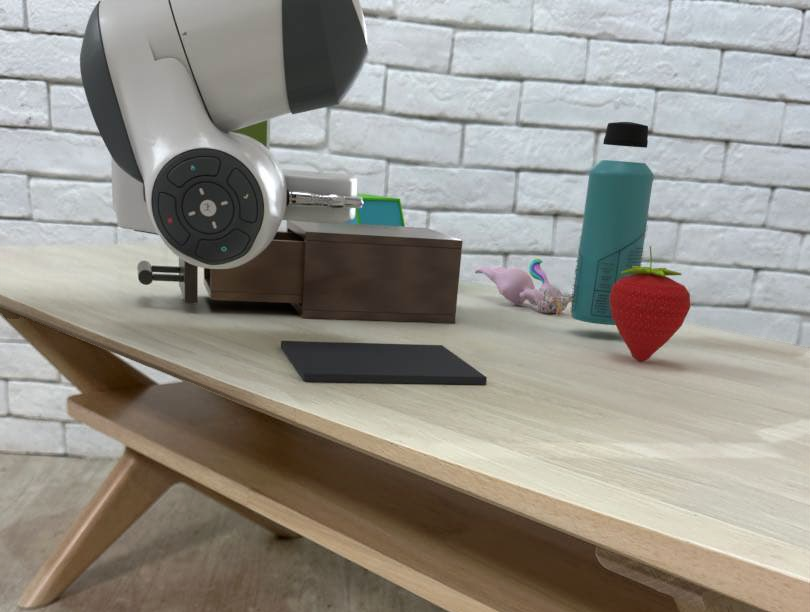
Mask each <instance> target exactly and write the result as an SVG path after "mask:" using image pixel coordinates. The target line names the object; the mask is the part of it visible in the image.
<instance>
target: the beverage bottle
mask: <svg viewBox="0 0 810 612" xmlns="http://www.w3.org/2000/svg"><path fill="white" fill-rule="evenodd" d="M648 138H649V125H646V124H642V123H638V122H633V121H616V122H609V123H607V125H606V129H605V135H604V138H603V143H602V144H603V145H607V146H617V147H630V148H632V147H633V148H642V149H643V148H645V149H646V148H647V149H648V144H649V143H648V142H649V141H648ZM654 180H655V175H654V172H653V171H652V170H651V168H650V167H649V166H648V165H647V164H646V162H637V161H623V160H611V159H600V160H599V161H598V162H597V163H596V164H595V165H593V166H592V167H591V168H590V169H589V170H588V181H587V189H586V196H585V204H584V210H583V219H582V227H581V235H580V237H579V238H578V241H577V243H579V245H578V248H577V251H578V254H577V259H576V261H575V262H576V265H575V266H576V267H574V268H575V270H574V277H573V280H574V282H573V283H574V284H572V286H573V287H572V293H571V297H572V299H573V300H572V299H571V300H572V303H571V302H570V308H569V310H570V313H571V318H572V319H573V320H576V321H579V322H584V323H590V324H595V325H596V324H597V325H604V326H616V324H615V322H614V320H613V318H612V315H611V307H610V299H609V296H610V293H611V291H612V288H613V285H614V284H615V283H616V282H617V281H618V280H619V279H620V278H623V277H627V276H631V275H635V274H625V273H621V272H622V271H626V269H633V268H632V267H633V266H641V267H643V253H644V247H645V239H646V236H647V234H648V233H646V232H649V231H648V225H647V224H648V221H649V216H650V214H649V209H650V202H651V197H652V196H651V195H652V190H653V189H652V188H653V183H654Z"/></svg>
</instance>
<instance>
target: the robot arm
mask: <svg viewBox="0 0 810 612" xmlns="http://www.w3.org/2000/svg"><path fill="white" fill-rule="evenodd" d="M368 47H369V46H368V32H367V25H366V19H365V16H364V12H363V8H362V5H361V2H360V0H98V2H97V3H96V4H95V6H94V8H93V9H92V11H91V13H90V15H89V18H88V21H87V23H86V27H85V31H84V34H83V38H82V42H81V47H80V53H79V70H80V77H81V81H82V86H83V89H84V90H83V91H84V94H85V97H86V100H87V104H88V106H89V110H90V113H91V116H92V118H93V120H94V121H93V122H94V123H95V126H96V128H97V130H98V132H99V135H100V137H101V139H102V141H103V143H104V145H105V147H106V149H107V151H108V152H109V154H110V156H111V157H110V158H111V159H110V160H111V194H112V195H111V196H112V198H111V199H112V209H113V211H114V212H115V215H116V223H117V226H118V227H120V228H121V229H124V230H132V231H134V232H139V233H144V234H145V233H146V234H150V235H151V234H152V235H156V236H159V238H160V240H161V241H162V242H163V244H164V245H165V246H166V248H168V250H170V251H171V252H172V253H173V254H174V255H175V256H177V257H178V259H179V258H181V259H182V260H184V261H186V262H188V263H189V264H192V265H194V266H197V267H198V268H202V269H204V268H207V269H229V268H234V267H238V266H240V265H243V264H245V263H247V262H249V261H250V260H252V259H253V258H255V257H256V256H257V255H259V254H260V253H261V252H262V251H263V250H264V249H265V248H266V247H267V246H268V245H269V244H270V243H271V241H272V240H273V238H274V237H275V235H276V233H277V231H279V228H280V226H281V224H282V222H283V221H287V220H290V221H303V222H316V223H347V222H350V221H352V220H353V219H354V218H355V214H356V208H362V205H363V201H362V197H361V196H357V194H358V178H357V177H356V176H354V175H351V174H345V173H336V172H334V173H333V172H322V171H310V170H299V169H298V170H297V169H287V168H283V167H282V166H281V164H280V163H279V160H278V159H277V158H276V156H275V155H274V154H273V153H272V151H271V150H270V151H269V150H268V149H267V148H266V147H265V146H264V145H263V144H261V143H260V142H258V141H257V140H255V139H253V138H251V137H249V136H246V135H243V134H240V133H234V132H232V131H235V130H238V129H241V128H244V127H247V126H250V125H253V124H257V123H260V122H263V121H266V120H269V119H270V120H272V119H275V118H278V117H281V116H284V115H288V114H291V115H297V114H301V113H306V112H310V111H316V110H319V109H325V108H329V107H334V106H337V105H340V104H341V103H342V101H343V100H344V99H345V98H346V96H347V95H348V94H349V92H350V91H351V90H352V88H353V86H354V85H355V83H356V82H357V80H358V79H359V76H360V74H361V73H362V71H363V68H364V66H365V65H366V62H367V59H368V57H369V48H368Z"/></svg>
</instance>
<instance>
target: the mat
mask: <svg viewBox="0 0 810 612" xmlns="http://www.w3.org/2000/svg"><path fill="white" fill-rule="evenodd" d="M280 349H281V350H282V352H283V353H284V354H285V356H286V358H287V359H288V360H289V362H290V364H291V365H292V366H293V368H294V369H295V370H296V372H297V373H298V375H299V377H300V378H301V379H302V380H303V382H306V383H307V382H308V383H309V382H312V383H317V382H318V383H361V384H362V383H364V384H365V383H367V384H368V383H370V384H372V383H373V384H425V385H426V384H428V385H478V386H479V385H481V386H482V385H483V386H485V385H487V380H488V377H487V376H486V375H484V374H483V373H482V372H480V371H479V370H477V368H475V367H473V366H472V365H471V364H469V363H468V362H467V361H465V360H464V359H462V358H461V357H459V356H458V355H457V354H455V353H454V352H452V351H451V350H449V349H448V348H447V347H445V346H444V345H442V344H417V343H416V344H413V343H410V344H409V343H376V342H341V341H340V342H339V341H309V340H308V341H304V340H281V341H280Z"/></svg>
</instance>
